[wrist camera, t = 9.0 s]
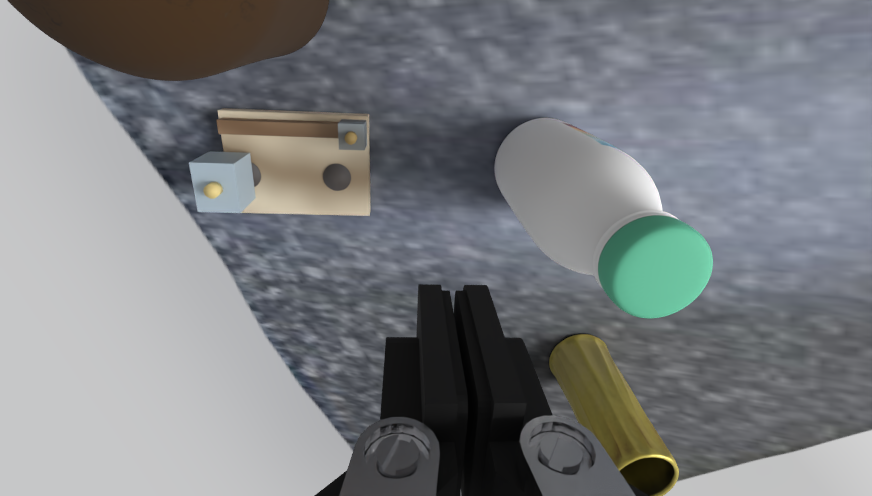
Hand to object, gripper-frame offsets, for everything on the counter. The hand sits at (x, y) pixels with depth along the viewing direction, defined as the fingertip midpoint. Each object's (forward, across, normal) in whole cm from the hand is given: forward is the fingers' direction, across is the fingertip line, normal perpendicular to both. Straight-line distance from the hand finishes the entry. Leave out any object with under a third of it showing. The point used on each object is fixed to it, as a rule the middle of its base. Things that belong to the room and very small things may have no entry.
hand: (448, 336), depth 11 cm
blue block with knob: (+26, +14, +3) cm, 30 cm away
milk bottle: (+27, -10, +2) cm, 29 cm away
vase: (+27, -17, +22) cm, 39 cm away
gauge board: (+27, +10, +2) cm, 29 cm away
